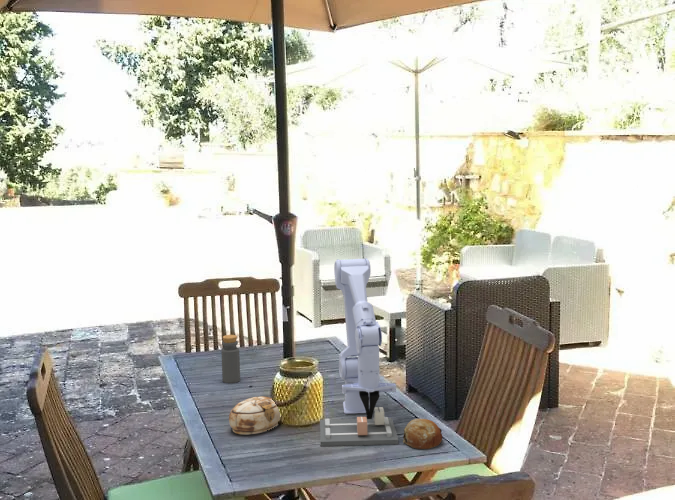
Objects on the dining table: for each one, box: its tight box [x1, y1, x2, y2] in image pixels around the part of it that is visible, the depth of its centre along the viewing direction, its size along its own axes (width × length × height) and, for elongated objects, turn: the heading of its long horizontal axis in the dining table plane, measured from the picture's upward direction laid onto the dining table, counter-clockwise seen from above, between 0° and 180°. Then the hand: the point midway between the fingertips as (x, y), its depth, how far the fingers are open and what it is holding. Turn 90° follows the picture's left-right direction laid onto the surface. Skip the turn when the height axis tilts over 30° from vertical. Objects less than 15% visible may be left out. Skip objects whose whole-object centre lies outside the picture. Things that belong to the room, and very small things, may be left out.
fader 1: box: [356, 416, 367, 435], centre depth 201 cm, size 4×2×4 cm, turn 2°
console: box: [319, 416, 399, 447], centre depth 205 cm, size 16×20×2 cm
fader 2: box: [373, 406, 385, 425], centre depth 209 cm, size 4×2×4 cm, turn 2°
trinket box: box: [228, 395, 281, 436], centre depth 212 cm, size 13×15×8 cm
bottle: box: [220, 334, 241, 384], centre depth 253 cm, size 6×6×15 cm
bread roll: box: [402, 418, 443, 450], centre depth 199 cm, size 10×10×8 cm
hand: (369, 417), depth 209 cm, fingers closed
